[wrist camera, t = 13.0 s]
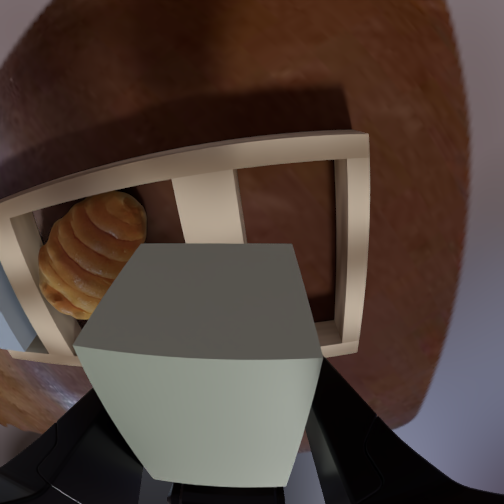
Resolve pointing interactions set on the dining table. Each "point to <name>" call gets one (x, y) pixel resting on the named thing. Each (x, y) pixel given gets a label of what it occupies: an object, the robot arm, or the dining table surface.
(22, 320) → the wing block
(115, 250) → the pastry
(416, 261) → the dining table surface
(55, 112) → the dining table surface
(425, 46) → the dining table surface
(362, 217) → the frame
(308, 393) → the block
